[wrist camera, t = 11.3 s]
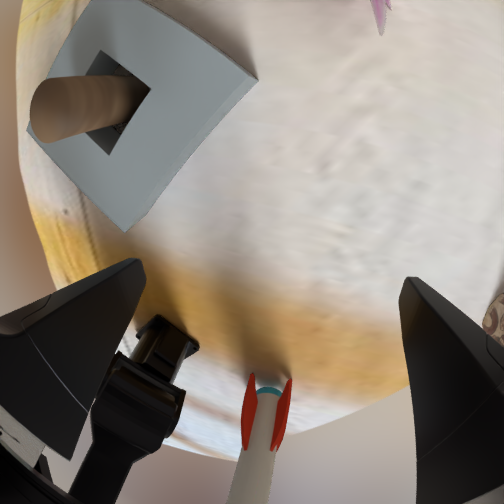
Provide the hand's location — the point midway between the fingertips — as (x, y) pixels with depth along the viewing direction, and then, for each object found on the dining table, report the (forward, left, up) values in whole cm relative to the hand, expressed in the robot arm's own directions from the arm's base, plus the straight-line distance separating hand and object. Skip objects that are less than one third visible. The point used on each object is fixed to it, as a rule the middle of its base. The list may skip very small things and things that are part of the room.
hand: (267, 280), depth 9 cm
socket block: (-4, +14, -13) cm, 19 cm away
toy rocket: (-20, -18, -13) cm, 30 cm away
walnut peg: (-4, +14, -13) cm, 19 cm away
